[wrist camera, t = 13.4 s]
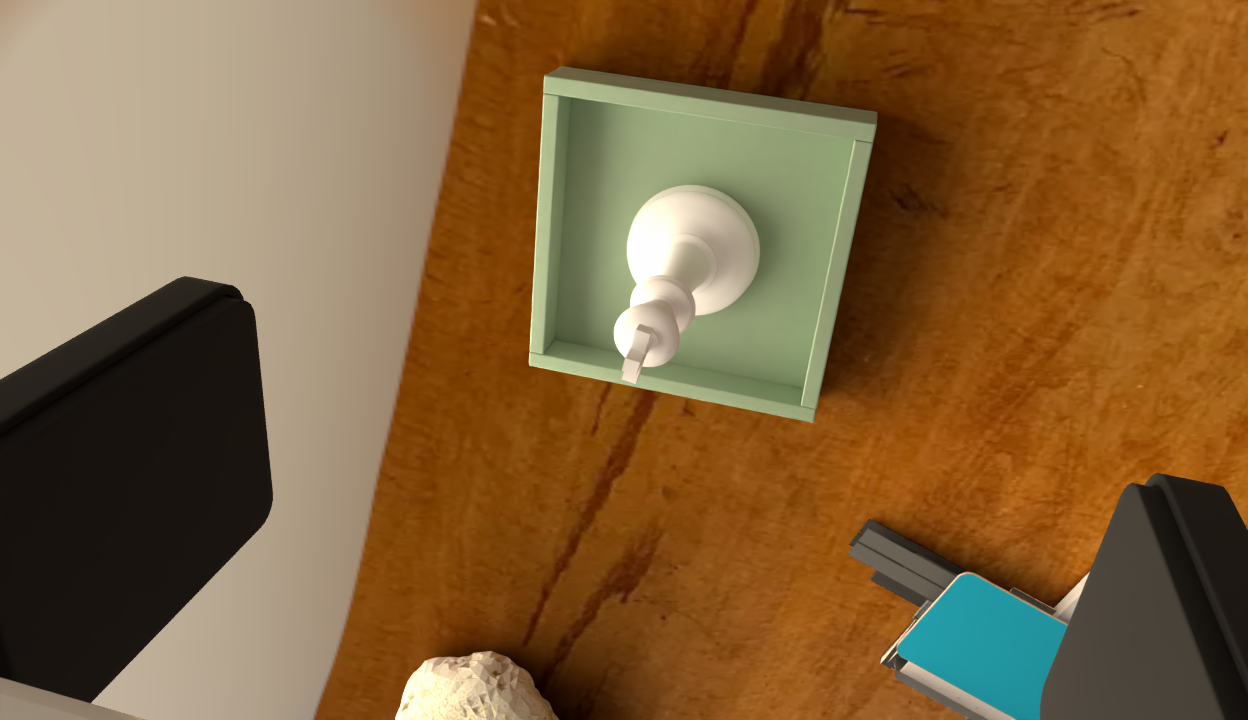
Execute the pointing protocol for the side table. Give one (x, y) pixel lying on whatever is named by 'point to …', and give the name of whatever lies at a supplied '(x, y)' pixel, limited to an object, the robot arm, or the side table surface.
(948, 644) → the phone stand
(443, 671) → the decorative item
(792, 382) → the tray
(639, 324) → the chess piece
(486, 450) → the side table surface
